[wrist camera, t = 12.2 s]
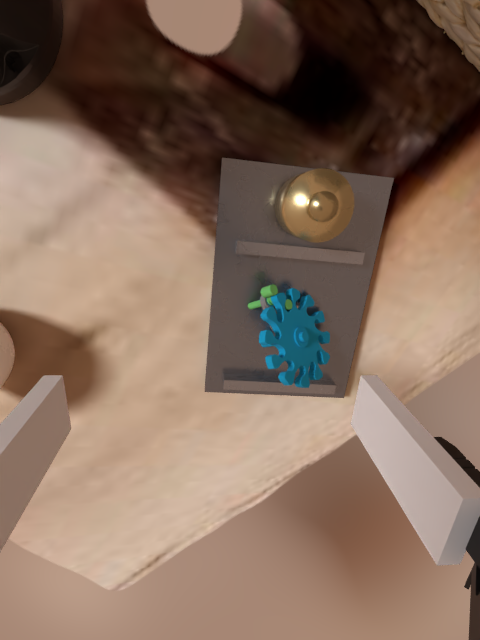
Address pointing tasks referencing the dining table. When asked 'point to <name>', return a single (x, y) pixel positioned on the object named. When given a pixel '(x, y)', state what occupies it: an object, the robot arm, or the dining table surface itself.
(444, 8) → the storage basket
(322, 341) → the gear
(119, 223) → the dining table surface
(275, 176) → the board
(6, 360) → the lidded jar
